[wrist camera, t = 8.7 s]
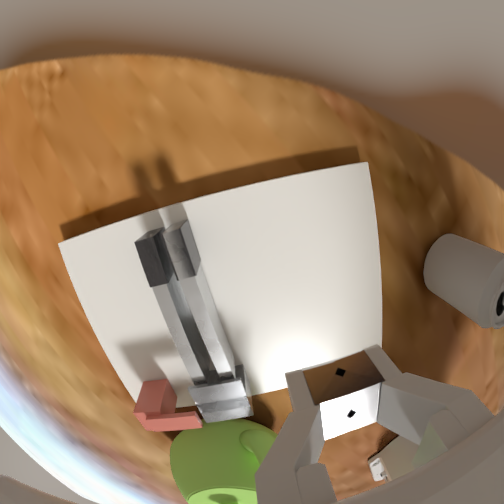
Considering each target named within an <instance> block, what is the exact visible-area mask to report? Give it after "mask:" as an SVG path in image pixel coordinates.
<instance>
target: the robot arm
mask: <svg viewBox="0 0 504 504" xmlns="http://www.w3.org/2000/svg"><path fill="white" fill-rule="evenodd" d="M285 378H286V383H287V387H288V392H289V396H290V400H291V405H292V409H293V412H291V413H289V415H288V417H287V419H286V421H285V423H284V424H283V426H282V428H281V430H280V432H279V434H278V436H277V437H276V439H275V441H274V443H273V444H272V446H271V448H270V450H269V451H268V453H267V455H266V457H265V458H264V460H263V462H262V463H261V465H260V467H259V468H258V470H257V472H256V473H255V484H256V494H257V503H258V504H504V409H503V410H502V411H500V412H499V413H498V414H497V415H496V416H494V415H493V414H492V413H491V412H490V411H489V409H488V408H487V407H486V406H485V405H484V404H483V403H482V402H481V401H480V399H479V398H478V397H477V396H476V395H475V394H474V393H473V392H472V391H471V390H468V389H464V388H460V387H456V386H453V385H449V384H445V383H442V382H438V381H435V380H431V379H428V378H424V377H421V376H418V375H414V374H411V373H408V372H406V373H403V374H402V373H401V371H400V370H399V369H398V368H397V367H396V365H395V364H394V363H393V362H392V360H391V359H390V358H389V357H388V355H387V354H386V353H385V352H384V351H383V349H382V348H381V347H380V346H379V345H377V344H375V345H373V346H370V347H368V348H365V349H362V350H360V351H358V352H355V353H352V354H349V355H346V356H343V357H340V358H337V359H334V360H331V361H328V362H324V363H320V364H317V365H313V366H309V367H305V368H301V369H299V370H295V371H290V372H286V373H285ZM374 422H377V423H379V424H380V425H382V426H384V427H386V428H388V429H389V430H391V431H393V432H395V433H397V434H399V435H400V436H398V437H397V438H396V439H394V440H393V441H392V442H391V443H389V444H388V445H387V446H386V447H385V448H384V449H383V450H382V451H381V452H380V453H378V454H377V455H375V456H374V457H372V458H371V459H369V460H368V464H369V467H370V470H371V474H372V477H373V479H374V481H378V480H382V479H384V480H385V482H386V483H385V484H383V485H380V486H378V487H375V488H373V489H370V490H368V491H365V492H362V493H360V494H357V495H354V496H351V497H348V498H345V499H342V500H339V501H337V499H336V496H335V493H334V490H333V487H332V484H331V481H330V478H329V475H328V472H327V469H326V466H325V465H324V464H321V463H317V462H318V459H319V457H320V454H321V451H322V448H323V445H324V442H325V440H326V439H329V438H332V437H335V436H338V435H340V434H343V433H346V432H349V431H351V430H354V429H357V428H360V427H363V426H366V425H369V424H371V423H374ZM0 504H77V503H74V502H71V501H68V500H64V499H62V498H59V497H56V496H53V495H51V494H48V493H45V492H43V491H40V490H37V489H35V488H33V487H31V486H28V485H26V484H23V483H22V482H20V481H18V480H16V479H14V478H12V477H9V476H7V475H0Z"/></svg>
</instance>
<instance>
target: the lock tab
mask: <svg viewBox="0 0 504 504" xmlns="http://www.w3.org/2000/svg"><path fill="white" fill-rule="evenodd" d="M176 402H177V395H176V394H175V392H174V390H173V388H172V387H171V385H170V383H169V381H168V379H161V380H153V381H144V382H143V384H142V387H141V390H140V393H139V396H138V399H137V403H136V406H135V409H134V412H133V413H134V415H135V416H136V417H137V419H138V420H139V421H140V423H141V424H142V425H143V427H144V428H145V429H146V430H147V431H149V430H154V432H157V431H174V430H186V429H196V428H203V423H202V421H201V420H200V418H199V416H198V414H197V413H196V411H192V412H183V413H175V408H176Z"/></svg>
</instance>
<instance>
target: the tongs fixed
mask: <svg viewBox="0 0 504 504" xmlns="http://www.w3.org/2000/svg"><path fill="white" fill-rule="evenodd" d="M164 231H165V227H161V228H158V229H154V230H151V231H148V232H147V233H145V234H144V235H143V236H141V237H140V238H139V239H138V240H136V241H135V242H134V243H135V246H136V249H137V252H138V255H139V258H140V261H141V264H142V267H143V270H144V272H145V275H146V278H147V281H148V283H149V286H150V288H151V287H152V289H153V292H154V294H155V297H156V299H157V302H158V305H159V307H160V310H161V312H162V315H163V317H164V319H165V322H166V324H167V327H168V329H169V331H170V334H171V336H172V338H173V341H174V343H175V345H176V347H177V350H178V352H179V354H180V356H181V358H182V360H183V363H184V365H185V367H186V369H187V371H188V373H189V375H190V377H191V379H192V381H193V383H194V385H195V386H189V387H188V391H189V393H190V395H191V396H192V398H193V400H194V402H195V404H196V406H197V407H198V409H199V411H200V413H201V414H202V416H203V418H204V420H205V421H206V423H210V422H218V421H224V420H230V419H236V418H242V417H247V416H252V415H254V411H253V404H252V396H251V388H250V382H249V379H248V377H247V374H246V371H245V368H244V365H243V364H241V365H237V366H235V377H236V378H235V379H230V380H224V381H221V379H220V376H219V374H218V372H217V370H216V368H215V370H212V371H209V368H210V360H209V358H208V355H207V353H206V350H205V348H204V345H203V343H202V340H201V338H200V335H199V332H198V330H197V327H196V325H195V322H194V319H193V317H192V314H191V311H190V308H189V306H188V303H187V300H186V297H185V294H184V292H183V289H182V287H181V284H180V281H177V279H176V276H175V273H174V271H173V268H172V265H171V263H170V260H169V257H168V254H167V251H166V248H165V246H164V243H163V240H162V237H161V234H162V233H163V232H164Z"/></svg>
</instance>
